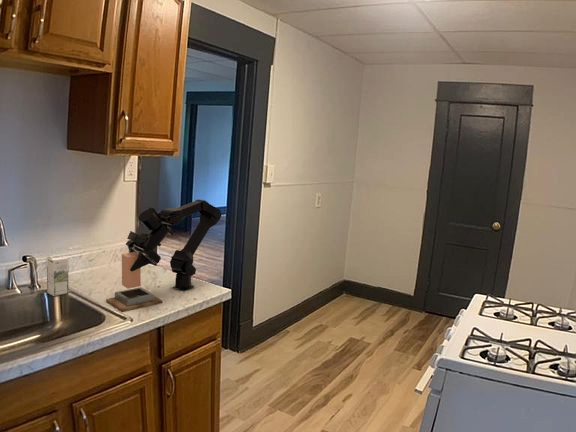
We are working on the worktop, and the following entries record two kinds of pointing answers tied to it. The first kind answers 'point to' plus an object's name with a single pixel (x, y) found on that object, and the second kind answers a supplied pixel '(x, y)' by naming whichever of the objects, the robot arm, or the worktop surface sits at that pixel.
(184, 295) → the worktop surface
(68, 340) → the worktop surface
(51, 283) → the syrup box
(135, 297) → the collar board
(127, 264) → the terracotta block
